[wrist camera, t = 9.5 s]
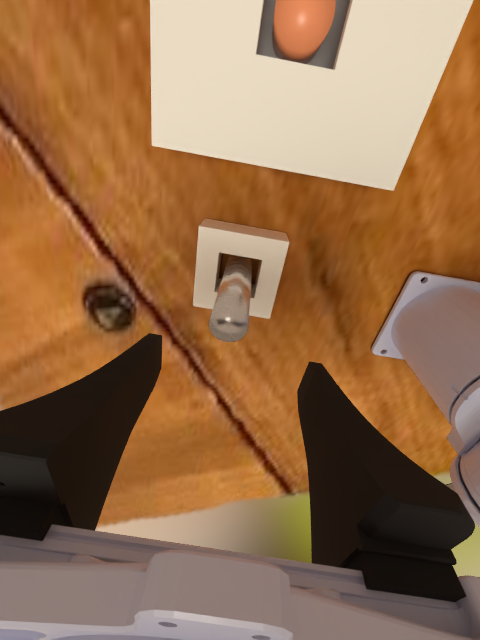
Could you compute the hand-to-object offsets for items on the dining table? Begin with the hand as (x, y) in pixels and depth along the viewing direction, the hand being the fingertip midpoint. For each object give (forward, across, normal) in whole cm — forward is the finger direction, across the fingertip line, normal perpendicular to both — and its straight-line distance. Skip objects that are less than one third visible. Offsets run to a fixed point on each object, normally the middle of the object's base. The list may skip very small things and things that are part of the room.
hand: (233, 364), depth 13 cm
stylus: (+10, +1, -1) cm, 10 cm away
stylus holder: (+10, +1, -1) cm, 10 cm away
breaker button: (+10, 0, -14) cm, 18 cm away
